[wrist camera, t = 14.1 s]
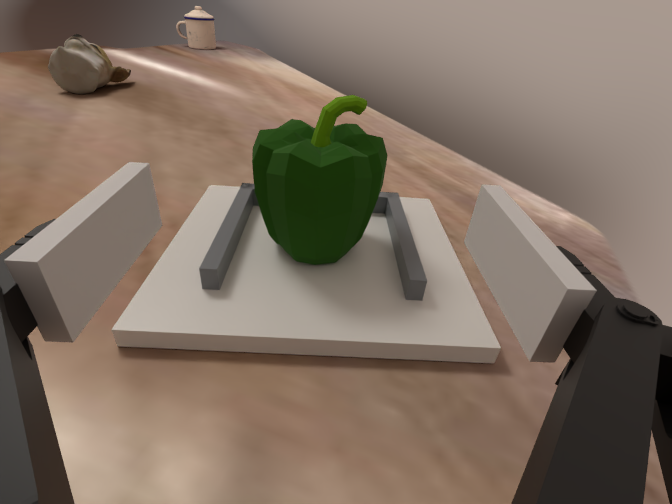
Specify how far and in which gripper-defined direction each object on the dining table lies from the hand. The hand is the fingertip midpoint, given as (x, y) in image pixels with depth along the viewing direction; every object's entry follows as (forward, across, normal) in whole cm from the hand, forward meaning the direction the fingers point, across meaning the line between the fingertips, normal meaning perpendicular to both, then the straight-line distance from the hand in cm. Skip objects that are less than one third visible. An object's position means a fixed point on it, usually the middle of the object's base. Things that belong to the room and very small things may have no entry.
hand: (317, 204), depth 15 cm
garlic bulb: (+59, -42, -9) cm, 72 cm away
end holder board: (+9, 0, -9) cm, 12 cm away
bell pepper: (+9, 0, -8) cm, 12 cm away
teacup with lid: (+128, -43, -9) cm, 135 cm away
